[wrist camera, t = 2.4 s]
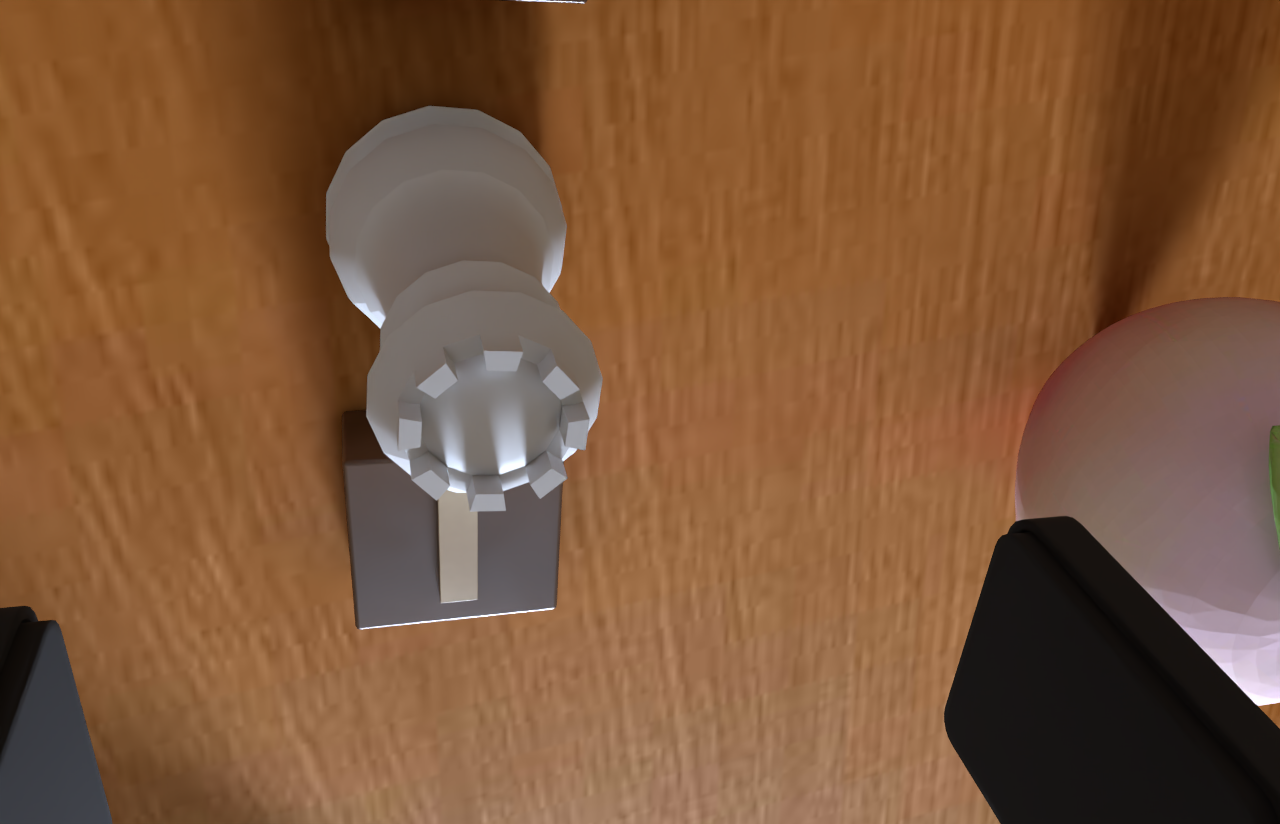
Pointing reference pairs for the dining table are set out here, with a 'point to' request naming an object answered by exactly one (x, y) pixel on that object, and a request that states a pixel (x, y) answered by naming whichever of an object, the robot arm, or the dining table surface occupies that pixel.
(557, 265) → the rook chess piece
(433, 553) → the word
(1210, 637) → the decorative fruit
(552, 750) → the dining table surface
